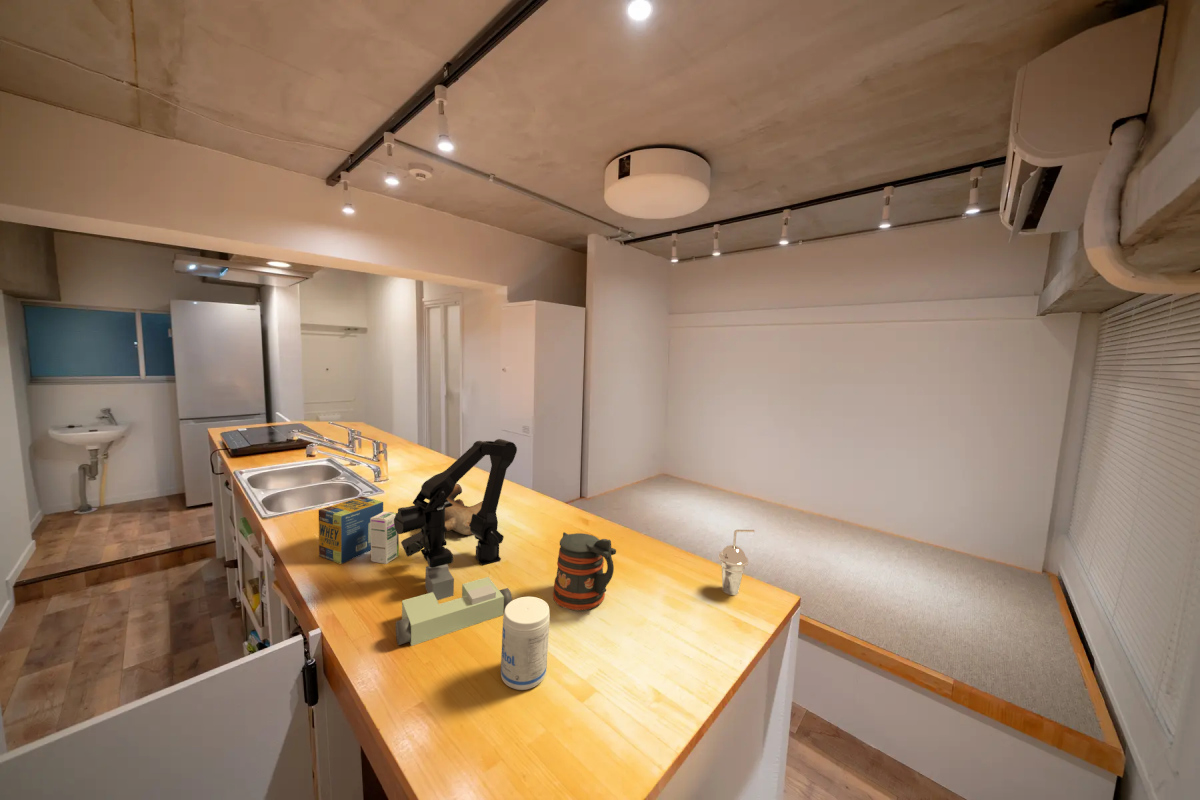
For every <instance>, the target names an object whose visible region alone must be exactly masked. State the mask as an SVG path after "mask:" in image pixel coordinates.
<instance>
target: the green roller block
mask: <svg viewBox="0 0 1200 800" xmlns="http://www.w3.org/2000/svg"><path fill="white" fill-rule="evenodd" d="M461 586H462V587H461V597H458V598H455V599H452V600H449V601H445V602H441V603H440V602H439V600H437V599H436V597H435V595H434V593H433V592H431V593H428V592H427V593H426V594H425V593H424V594H421V595H418V596H414V597H410V598H407V599H404V600H403V599H402V601H401V619H400V620H396V621H395V635H396V636H395V637H396V638H395V639H396V642H397V645H398V646H400V645H403V644H407V643H410V646H411V647H413V646H415V645H419V644H421V643H424V642H427V641H431V640H433V639H436V638H438V637H442V636H445V635H448V634H450V633H454V632H456V631H459V630H462V629H463V630H464V629H465V628H469V627H471V626H475V625H477V624H478V625H479V624H480V623H483V622H487V621H489V620H492V619H495V618H498V617H501V616H504V610H505V607H506V606H507V604H508V603H510V602H511V601H513V596H512V593H511V591H510V588H508V587H507V588H503V589H499V588H498V587H497V585H496V584H495V583H494V582H493V581H492V579H491V578H490V576H486V577H483V578H479V579H475V580H472V581H468V582H465V583H462V584H461Z"/></svg>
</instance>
